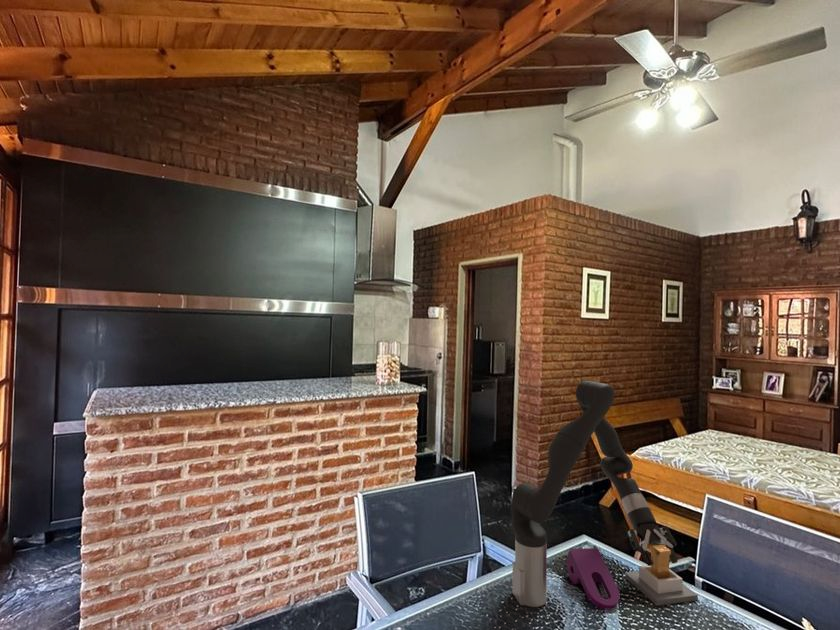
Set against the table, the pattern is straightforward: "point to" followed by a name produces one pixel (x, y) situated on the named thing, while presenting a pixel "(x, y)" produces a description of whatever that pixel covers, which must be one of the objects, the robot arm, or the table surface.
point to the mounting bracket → (592, 576)
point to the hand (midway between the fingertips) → (663, 563)
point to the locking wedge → (660, 561)
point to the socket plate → (661, 587)
